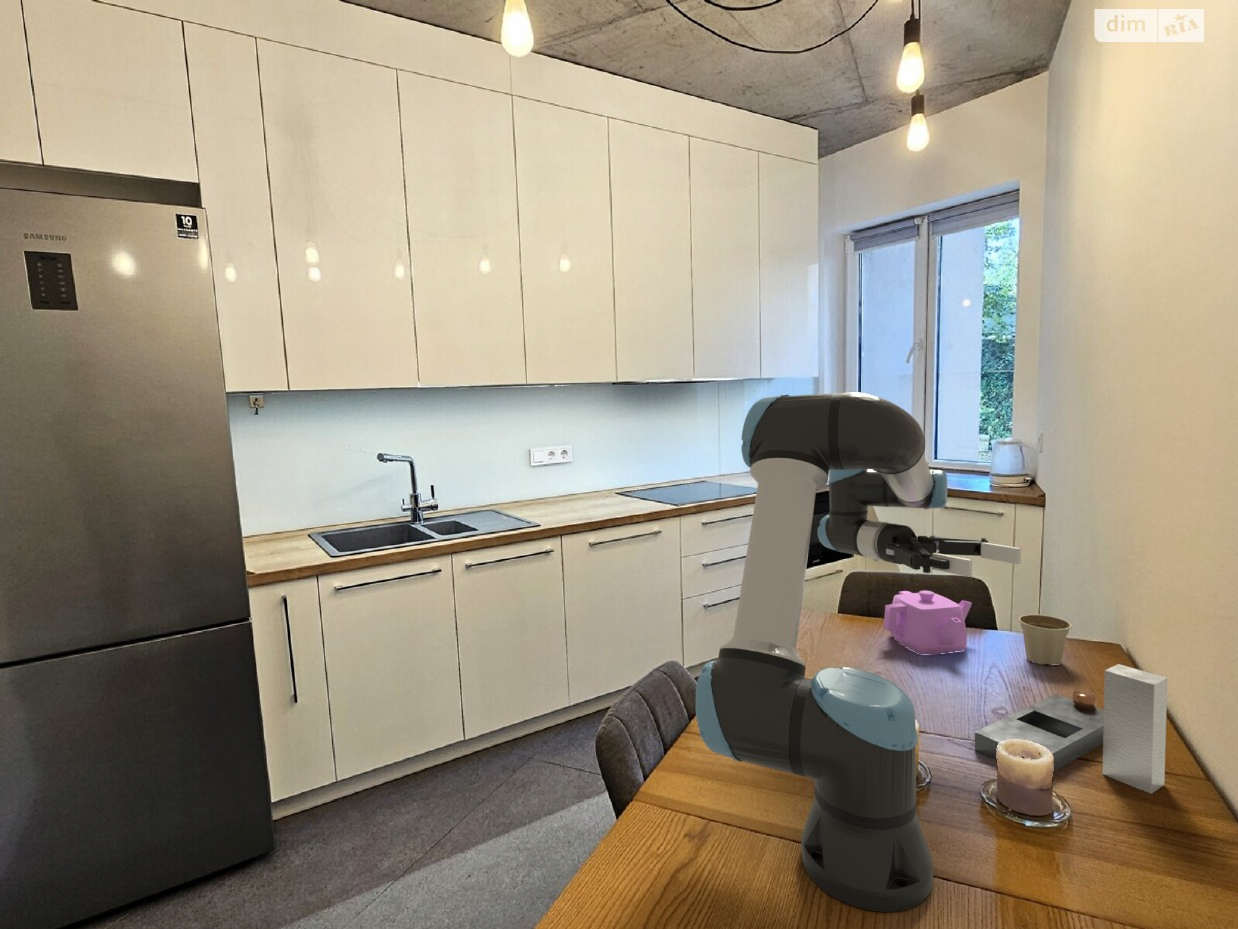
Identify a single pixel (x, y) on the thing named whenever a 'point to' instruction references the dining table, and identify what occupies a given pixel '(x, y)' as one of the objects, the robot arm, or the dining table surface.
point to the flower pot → (1044, 638)
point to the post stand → (1050, 727)
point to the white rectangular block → (1135, 727)
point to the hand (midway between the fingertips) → (995, 562)
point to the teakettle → (927, 622)
